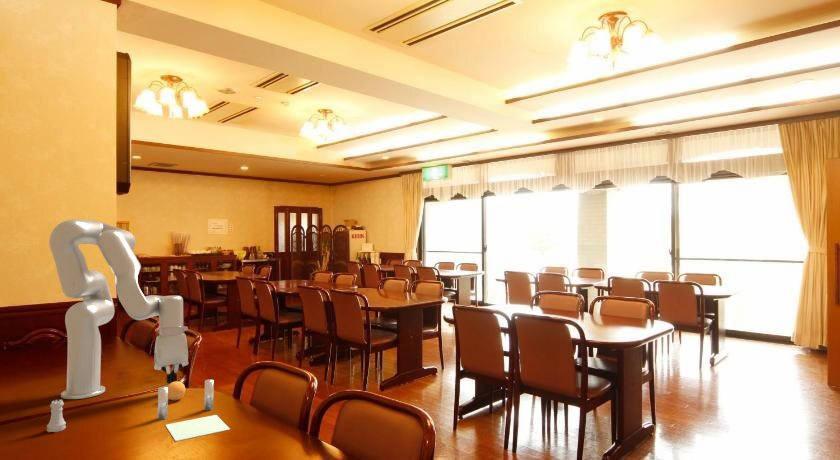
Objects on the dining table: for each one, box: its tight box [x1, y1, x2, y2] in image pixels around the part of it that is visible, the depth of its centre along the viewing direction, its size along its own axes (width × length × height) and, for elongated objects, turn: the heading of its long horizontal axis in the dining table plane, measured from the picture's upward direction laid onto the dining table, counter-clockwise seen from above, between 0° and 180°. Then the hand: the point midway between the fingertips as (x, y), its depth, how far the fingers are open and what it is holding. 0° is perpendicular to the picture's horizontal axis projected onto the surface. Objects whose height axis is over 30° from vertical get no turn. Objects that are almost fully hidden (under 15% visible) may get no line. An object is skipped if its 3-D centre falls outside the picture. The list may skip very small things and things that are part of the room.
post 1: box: [157, 386, 169, 420], centre depth 148 cm, size 3×3×9 cm
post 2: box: [203, 378, 215, 412], centre depth 156 cm, size 3×3×9 cm
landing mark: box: [164, 414, 231, 442], centre depth 140 cm, size 14×14×1 cm
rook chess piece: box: [46, 399, 67, 433], centre depth 138 cm, size 4×4×8 cm
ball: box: [166, 380, 186, 401], centre depth 164 cm, size 6×6×6 cm
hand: (171, 384), depth 172 cm, fingers closed
